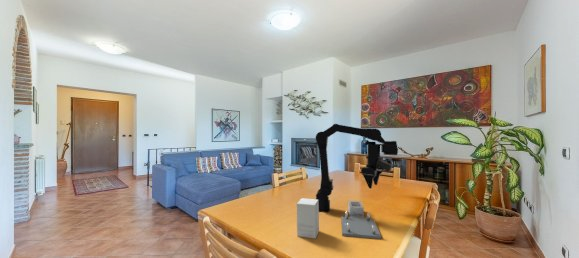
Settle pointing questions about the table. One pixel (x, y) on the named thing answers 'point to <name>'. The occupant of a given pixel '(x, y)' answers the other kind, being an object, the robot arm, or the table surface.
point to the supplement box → (308, 218)
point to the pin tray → (359, 227)
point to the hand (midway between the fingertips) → (373, 186)
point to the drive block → (356, 209)
